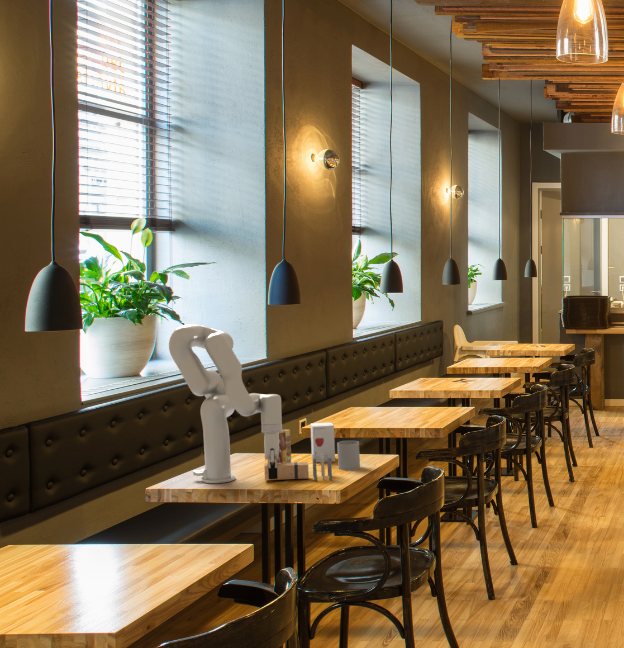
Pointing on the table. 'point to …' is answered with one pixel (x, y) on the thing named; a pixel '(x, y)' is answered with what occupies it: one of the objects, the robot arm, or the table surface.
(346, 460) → the cup
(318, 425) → the supplement box
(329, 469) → the grey open box frame
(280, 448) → the candy box
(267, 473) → the tall tan block
